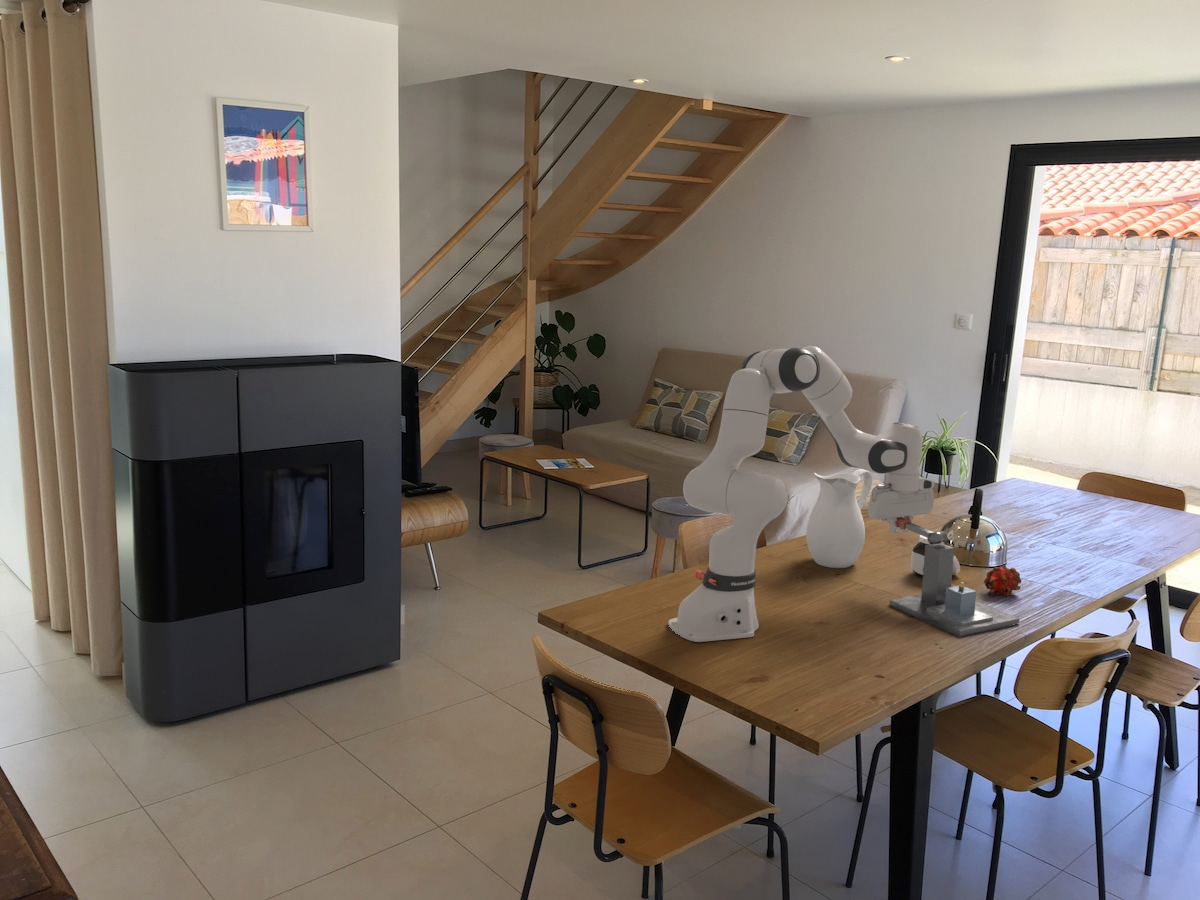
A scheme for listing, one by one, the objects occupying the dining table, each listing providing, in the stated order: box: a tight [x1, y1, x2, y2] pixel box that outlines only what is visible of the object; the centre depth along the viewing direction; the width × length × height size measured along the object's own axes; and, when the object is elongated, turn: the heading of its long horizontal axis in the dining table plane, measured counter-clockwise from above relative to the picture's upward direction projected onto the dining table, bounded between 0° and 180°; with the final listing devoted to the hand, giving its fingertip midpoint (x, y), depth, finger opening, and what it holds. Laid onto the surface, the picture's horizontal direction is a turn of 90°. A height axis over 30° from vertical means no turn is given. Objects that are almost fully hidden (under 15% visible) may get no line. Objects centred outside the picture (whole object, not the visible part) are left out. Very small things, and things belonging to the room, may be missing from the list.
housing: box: [944, 581, 977, 617], centre depth 238 cm, size 5×5×8 cm
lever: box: [880, 517, 949, 545], centre depth 255 cm, size 4×23×3 cm, turn 26°
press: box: [889, 543, 1020, 638], centre depth 242 cm, size 20×24×16 cm
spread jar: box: [910, 534, 961, 579], centre depth 274 cm, size 12×11×12 cm
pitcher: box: [806, 468, 873, 569], centre depth 285 cm, size 24×17×28 cm
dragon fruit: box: [983, 564, 1022, 597], centre depth 259 cm, size 8×8×12 cm
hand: (899, 532), depth 258 cm, fingers closed on lever, 2 cm apart
